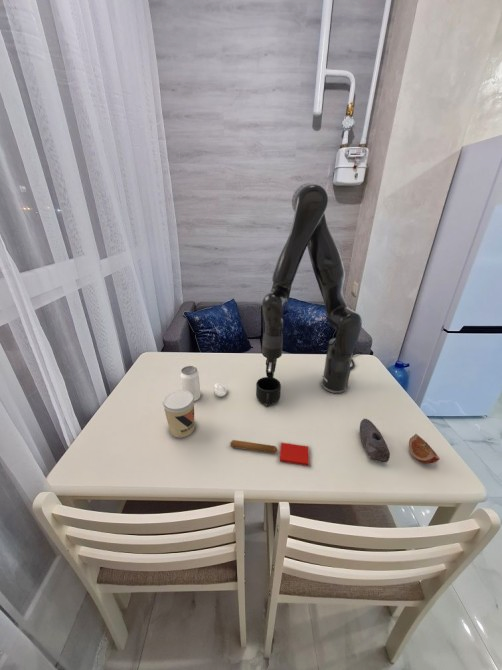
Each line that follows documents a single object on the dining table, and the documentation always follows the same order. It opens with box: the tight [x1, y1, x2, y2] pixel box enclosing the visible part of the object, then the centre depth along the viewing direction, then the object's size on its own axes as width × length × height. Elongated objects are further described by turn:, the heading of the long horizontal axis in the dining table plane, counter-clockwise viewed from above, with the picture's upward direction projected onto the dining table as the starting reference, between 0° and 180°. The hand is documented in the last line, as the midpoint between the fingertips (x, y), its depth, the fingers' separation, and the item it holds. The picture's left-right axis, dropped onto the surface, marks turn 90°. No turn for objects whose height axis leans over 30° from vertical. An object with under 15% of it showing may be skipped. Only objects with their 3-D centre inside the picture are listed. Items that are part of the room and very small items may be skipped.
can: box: [180, 365, 201, 402], centre depth 97 cm, size 6×6×12 cm
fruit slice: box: [408, 433, 440, 464], centre depth 75 cm, size 8×7×5 cm
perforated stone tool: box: [359, 418, 391, 464], centre depth 78 cm, size 15×5×7 cm, turn 176°
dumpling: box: [213, 382, 227, 398], centre depth 101 cm, size 7×5×4 cm
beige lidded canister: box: [162, 389, 195, 439], centre depth 83 cm, size 9×9×12 cm
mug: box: [255, 376, 282, 408], centre depth 96 cm, size 12×9×7 cm
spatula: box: [230, 439, 310, 467], centre depth 77 cm, size 23×6×2 cm, turn 80°
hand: (270, 382), depth 105 cm, fingers closed
